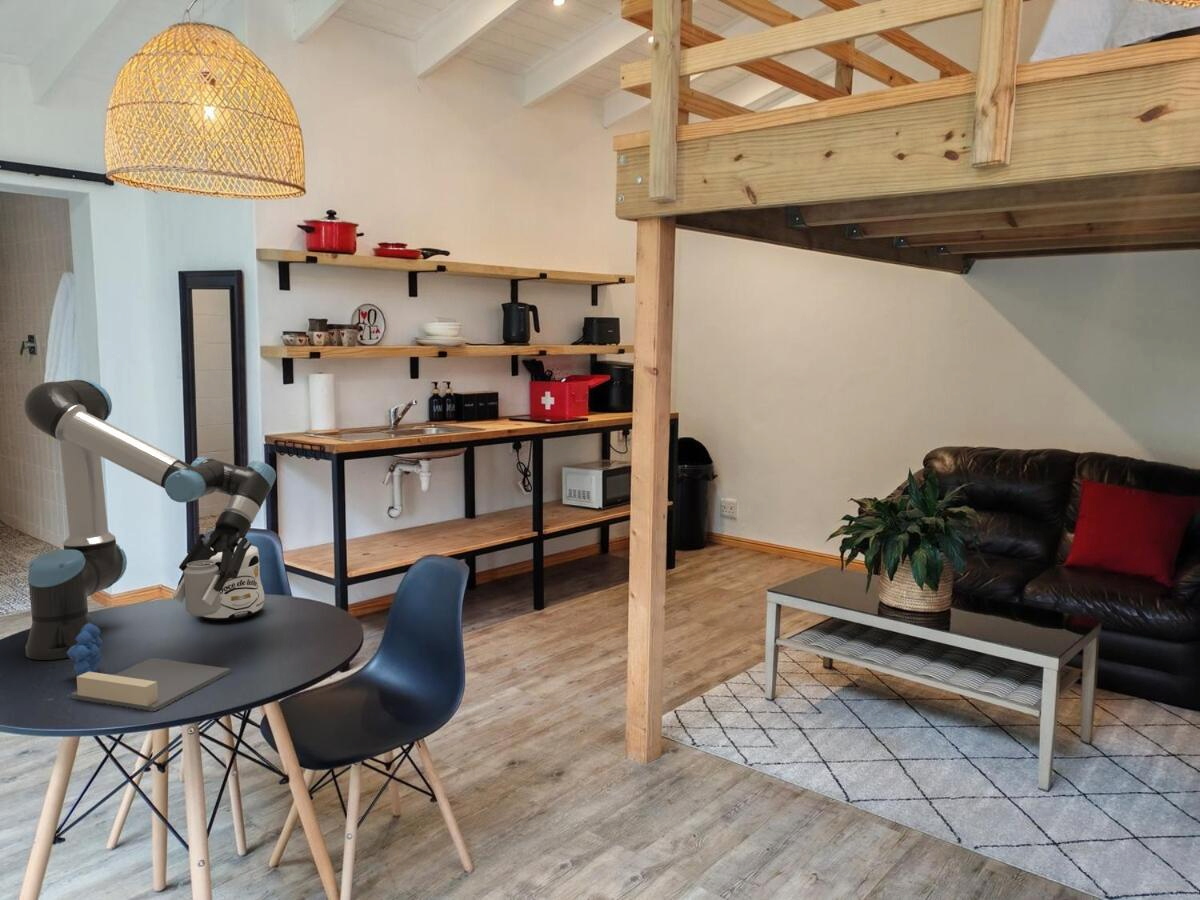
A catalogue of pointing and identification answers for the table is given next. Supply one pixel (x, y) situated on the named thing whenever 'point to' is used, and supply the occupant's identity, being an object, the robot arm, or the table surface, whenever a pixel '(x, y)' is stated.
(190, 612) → the can
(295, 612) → the table surface
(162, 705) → the stop plate
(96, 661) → the grapes
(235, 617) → the milk container
